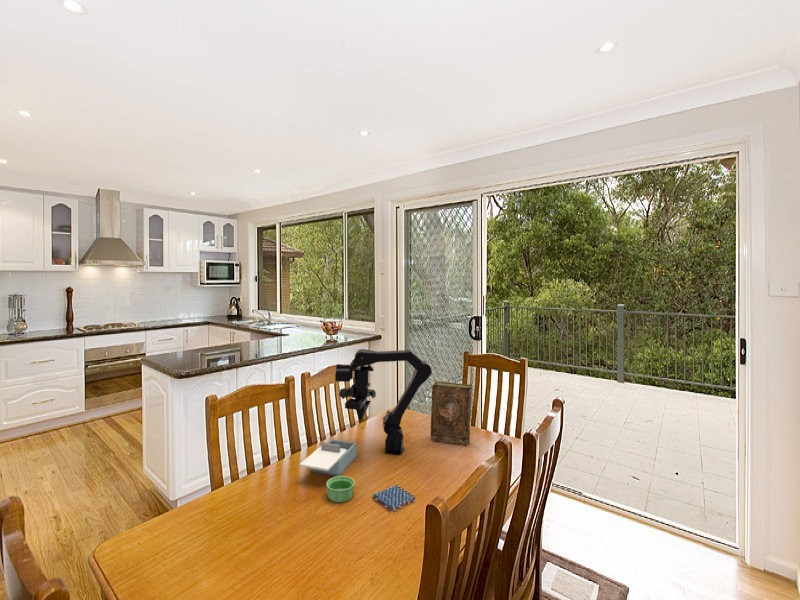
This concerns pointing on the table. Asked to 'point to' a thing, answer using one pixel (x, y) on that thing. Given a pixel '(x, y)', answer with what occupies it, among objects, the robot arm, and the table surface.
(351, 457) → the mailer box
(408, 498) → the woven mat
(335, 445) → the lid
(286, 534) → the table surface
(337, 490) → the ramekin
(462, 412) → the book
